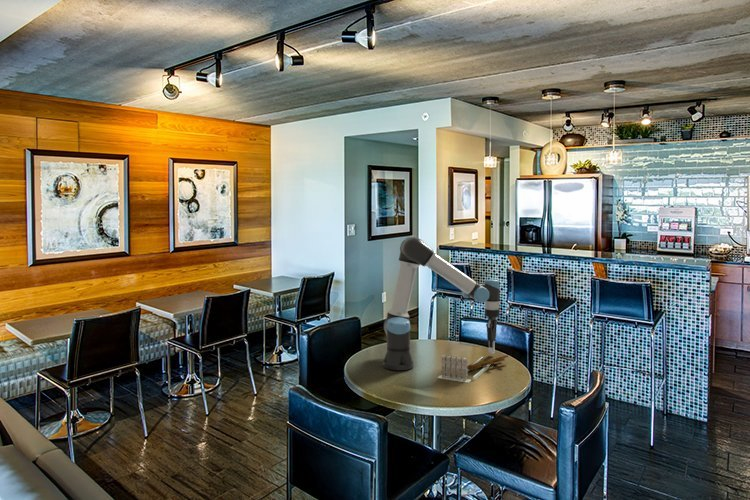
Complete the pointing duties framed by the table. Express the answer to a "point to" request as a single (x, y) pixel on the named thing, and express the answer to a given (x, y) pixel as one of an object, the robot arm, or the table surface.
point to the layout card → (454, 379)
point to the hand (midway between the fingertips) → (491, 353)
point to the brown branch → (486, 362)
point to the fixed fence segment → (454, 367)
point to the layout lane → (480, 370)
